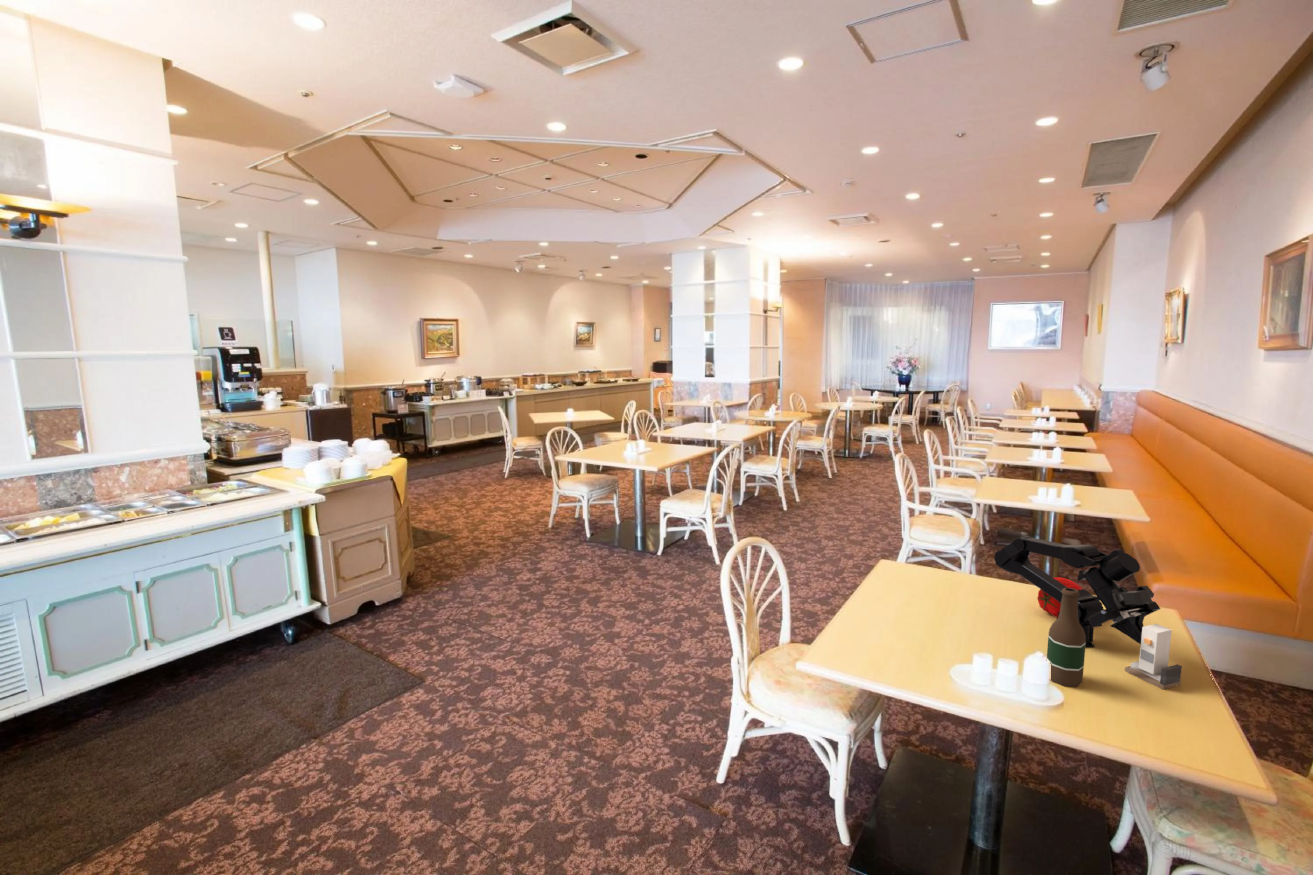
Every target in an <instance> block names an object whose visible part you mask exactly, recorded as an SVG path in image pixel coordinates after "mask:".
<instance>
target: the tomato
mask: <svg viewBox="0 0 1313 875" xmlns="http://www.w3.org/2000/svg"><path fill="white" fill-rule="evenodd" d="M1053 578H1054V579H1056V580H1057V581H1059V582H1060V583H1062V584H1063V585H1065V586H1066V587H1068V588H1073V589H1076V590H1081V589H1084V588H1082V587H1081V585H1080V584H1078V583H1076V582H1074V581H1072V580H1070V579H1068V578H1064V577H1060V576H1059V577H1053ZM1037 602H1038V604H1039V607H1040V608H1041V610H1042V611H1044V612H1046V613H1048V614H1051V615H1052V616H1053V617H1055V618H1058V612H1060V608H1061V603H1060V602H1059V601H1057V600H1056V599H1054V598H1053V597H1051V596H1050V595H1048V594H1047V593H1046V592H1044V591H1043V590H1041V589H1040V588H1039V590H1038V592H1037Z"/></svg>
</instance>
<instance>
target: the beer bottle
mask: <svg viewBox="0 0 1313 875" xmlns="http://www.w3.org/2000/svg"><path fill="white" fill-rule="evenodd" d="M1061 592H1062V593H1063V595H1062V601H1061V608H1060V613H1059V617H1057V619H1055V620H1054V622H1052V624H1051V626H1050V627H1049V630H1048V636H1047V637H1048V638H1047V648H1046V650H1047V651H1046V660H1047V659H1048V660H1049V661H1050V664H1051V680H1050V682H1051V683H1054V684H1057V685H1060V686H1063V687H1067V688H1077V687H1078V686H1079V685H1081V684H1082V682H1083V678H1084V670H1085V669H1084V667H1085V657H1086V656H1085V654H1086V647H1085V646H1086V635H1085V632H1084V629H1083V628H1082V626H1081V625H1080V623H1079V619H1078V596H1079V595H1080V594H1079V591H1077V590H1076V589H1073V588H1064V589H1062V591H1061Z"/></svg>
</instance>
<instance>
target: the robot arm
mask: <svg viewBox="0 0 1313 875" xmlns="http://www.w3.org/2000/svg"><path fill="white" fill-rule="evenodd" d="M1032 553H1033V554H1038V555H1043V556H1047V557H1051V558H1054V559H1058V560H1061V561H1062V562H1063V563H1064V564H1066V565H1067V566H1068V565H1069V566H1070V567H1073V568H1075V569H1082V568H1088V567H1090V568H1088V569H1082V570H1078V575H1077V581H1085V580H1086V582H1087V583H1088V585H1089V586H1090V588H1091V590H1092V591H1093V592H1094V594H1095V595H1096V596H1095V595H1094V594H1092V593H1090V592H1089V591H1088V590H1086V589H1085V588H1083V589H1081V590H1077V591H1079V594H1080V595H1079V596H1078V619H1079V623H1080V625H1081V626H1082V628H1083V629H1084V632H1085V635H1086V646H1085V648H1095V647H1096V644H1094V643H1093V642H1094V630H1095V629H1094V628H1098V627H1101V626H1103V624H1105V623H1106V622H1109V621H1112V624H1110V625H1109V626H1110V628H1114V629H1115V630H1117V631H1118V632H1121V633H1123V635H1125V636H1127V637H1129V638H1130V639H1131V640H1133V641H1135V642H1136V643H1137V644H1139V645H1140V646H1141V637H1142V627H1145V626H1144V619H1145V617H1147V616H1148V615H1150V614H1153V613H1156V612H1157V611H1159V610H1161V607H1160V605H1159V604H1158V603H1157V601H1154V600H1153V598H1154V596H1155V593H1154V592H1153V591H1152V589H1151V588H1150V587H1149V586H1148V585H1140V586H1137V587H1136V590H1131V591H1129V589H1127V588H1126V587H1124V586H1120V585H1119V584H1118V583H1117V582H1121V581H1123V580H1125V579H1127V578H1129V577H1130V576H1132V575H1134V574H1137V573H1138V572H1140V569H1141V566H1140V564H1139V562H1138V560H1137V559H1136V558H1134V557H1133V556H1132V555H1131V554H1129V553H1126V552H1124V551H1123V549H1121V548H1119V549H1118V548H1117V549H1115V550H1112V551H1111V552H1110V554H1107V553H1105V552H1103V551H1100V550H1098V548H1097V547H1096V546H1095V545H1093V544H1064V543H1059V542H1054V541H1050V540H1047V539H1046V540H1045V539H1041V538H1035V537H1033V536H1030V535H1028V536H1020V537H1017V538H1015V539H1014V540H1013V541H1012V542H1011V543H1009V544H1007V545H1006V546H1004V547H1003V548H1001V549H1000V550H997V551H996V552H995V554H994V562H995V565H996V566H997V567H998V568H1000V569H1001V570H1004V571H1006V572H1009V573H1012V574H1016V575H1019V576H1021V577H1023V579H1026V580H1027V581H1028V582H1030V584H1033V585H1034V586H1036V587H1037V588H1038V589H1039V590H1040V589H1041V590H1043V591H1044V592H1046V593H1047V594H1048V595H1050V596H1051V597H1053V598H1054V599H1056V600H1057V601H1059V602H1060V603H1061V601H1062V595H1063V593H1062V592H1061V591H1062V589H1064V588H1068V587H1066V586H1065V585H1063V584H1062V583H1060V582H1059V581H1057V580H1056V579H1054V578H1055V577H1053V576H1052V575H1050V574H1049V573H1047V572H1045V571H1043V570H1042V569H1041V568H1039V567H1038V566H1035V564H1033V563H1032V562H1031V560H1030V557H1029V556H1031V554H1032ZM1097 566H1098V567H1097ZM1103 606H1104V607H1103ZM1104 608H1105V609H1104ZM1059 613H1060V612H1058V617H1059ZM1058 617H1057V618H1058Z"/></svg>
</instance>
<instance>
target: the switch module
mask: <svg viewBox="0 0 1313 875" xmlns="http://www.w3.org/2000/svg"><path fill="white" fill-rule="evenodd" d="M1172 631H1173V630H1172V629H1171V628H1168V627H1166V626H1164V625H1161V624H1158V623H1154V624H1149V625H1145V626H1144V627H1142V637H1141V645H1140V647H1139V648H1140V649H1139V659H1138V661H1139V667H1138V668H1140V669H1142V670H1144V671H1147V672H1149V673H1151V674H1153V675H1154V674H1158V673H1161V669H1162V668H1165V667H1169V658H1170V651H1171V642H1172V641H1171V640H1172Z"/></svg>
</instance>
